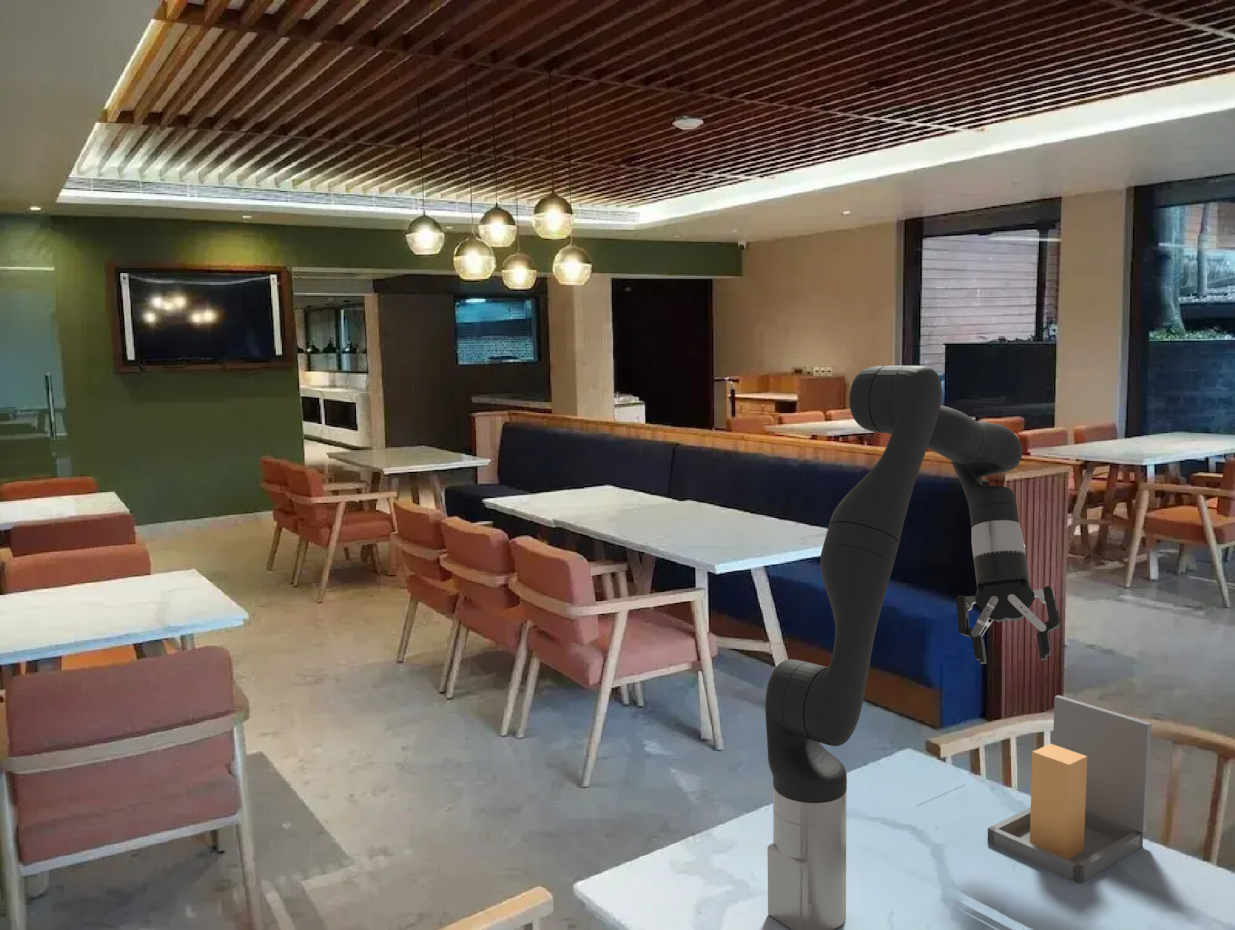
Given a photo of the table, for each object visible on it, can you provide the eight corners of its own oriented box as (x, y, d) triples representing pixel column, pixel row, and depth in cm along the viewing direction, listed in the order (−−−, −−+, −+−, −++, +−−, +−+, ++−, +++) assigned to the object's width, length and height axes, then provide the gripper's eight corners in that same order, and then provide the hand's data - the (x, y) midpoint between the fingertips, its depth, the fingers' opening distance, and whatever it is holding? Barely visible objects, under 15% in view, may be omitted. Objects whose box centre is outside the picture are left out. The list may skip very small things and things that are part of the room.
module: (1065, 861, 137) (1069, 764, 135) (1029, 845, 142) (1032, 751, 140) (1083, 850, 140) (1087, 756, 138) (1047, 835, 144) (1050, 743, 142)
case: (1079, 890, 132) (1084, 754, 129) (987, 847, 143) (990, 721, 141) (1145, 850, 141) (1151, 723, 139) (1054, 813, 153) (1058, 695, 150)
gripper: (946, 555, 152) (958, 661, 147) (1045, 543, 146) (1061, 654, 140) (956, 564, 158) (968, 667, 153) (1052, 553, 152) (1068, 660, 147)
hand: (1013, 661), depth 147 cm, fingers open, 8 cm apart
